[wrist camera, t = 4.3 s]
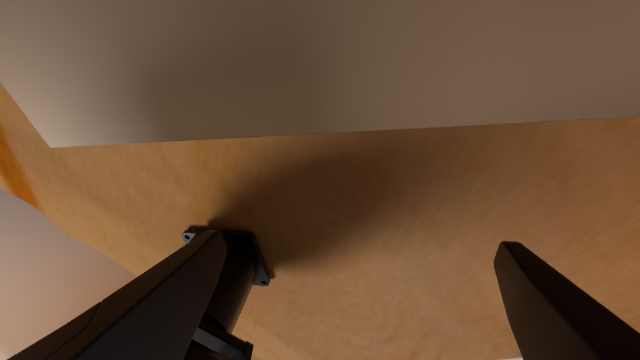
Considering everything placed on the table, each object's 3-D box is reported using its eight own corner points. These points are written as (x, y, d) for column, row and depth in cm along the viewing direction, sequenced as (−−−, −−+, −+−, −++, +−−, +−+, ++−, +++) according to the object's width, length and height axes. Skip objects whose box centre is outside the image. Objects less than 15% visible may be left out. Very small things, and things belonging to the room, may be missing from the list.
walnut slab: (491, 37, 11) (771, 124, 3) (241, 66, 14) (56, 155, 6) (510, -61, 10) (1194, -376, 2) (221, -6, 12) (-78, -20, 4)
